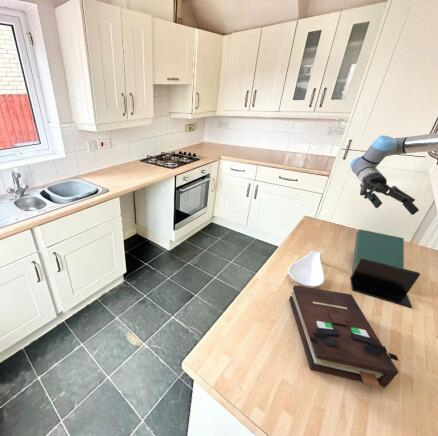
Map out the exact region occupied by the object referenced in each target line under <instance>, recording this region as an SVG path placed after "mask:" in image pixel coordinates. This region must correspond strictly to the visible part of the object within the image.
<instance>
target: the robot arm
mask: <svg viewBox="0 0 438 436" xmlns="http://www.w3.org/2000/svg"><path fill="white" fill-rule="evenodd" d="M437 151H438V132H433V133H426V134H419V135H412V136H411V135H410V136H403V137H395V138H394V137H391V136H389V135H379V136H378V137H377V138H376V139H375V140H374V141H373V142H372V143H371V145H370V146H369V147H368V149H366V151H365V152H364V153H363V155H362V156H357V157H356V158H354V159H352V160H351V161H350V163H349V164H350V165H349V167H350V169H351V171H352V173H353V174H355V176H356V177H357V178H358V180H359V181H360V182H361V183H360V184H359V187H360V190H359V195H360V196H363V198H364V199H365V200H366V199H367V200H368V201H370V203H371V204H372V205H373V207H374V208H375V209H378V208H379V207H380V206H381V205H383V202H382V201H381V199H380V198H379V196H378V195H377V194H376V193H378V194H382V195H385V197H390V198H392V199H394V200H395V201H397V202H400V203H402V206H403V207H404V208H405V209H406V211H408V213H409V214H410V215H412V216H414V215H415V214H416V213H417V212H419V211H420V209H419V208H418V207H417V206H416V204H414V202H415V201H416V199H415V198H413V197H412V196H411V195H409V194H407V193H406V192H404V191H402V190H401V189H400V188H399V187H397V186H396V185H392V186H390V185H389V184H388V183H387V181H388V180H387V178H386V177H385V176H384V175H383V174H382V173H381V171H380V170H379V169H378V168H377V167H378V165H380V163H382V161H383V160H384V159H385V158H386V157H391V156H396V155H406V154H414V153H415V154H417V153H425V152H427V153H428V152H437Z"/></svg>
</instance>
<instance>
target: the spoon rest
mask: <svg viewBox="0 0 438 436" xmlns="http://www.w3.org/2000/svg"><path fill="white" fill-rule="evenodd" d="M287 273H288V276H289V277H290V279H291V280H292V281H293V282H294V283H295V284H297V285H298V286H302V287H308V288H314V289H316V288H317V287H318V288H319V287H320V286H322V285H323V284H324V282H325V272H324V268H323V265H322V252H319V251H316V250H314V249H312V250H311V251H310V252H309V253H308V254H306V255H305V256H303V257H302V258H299V259H298V260H296V261H294V262H293V263H292V264H291V265H289V266H288V268H287Z"/></svg>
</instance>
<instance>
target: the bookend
mask: <svg viewBox="0 0 438 436" xmlns="http://www.w3.org/2000/svg"><path fill="white" fill-rule="evenodd" d="M352 271H353V270H352ZM351 273H352V272H351ZM420 276H421V273H420V272H418V271H415V270H410V269H406V268H404V267H403V268H399V267H394V266H390V265H386V264H382V263H378V262H374V261H370V260H366V259H362V258H360V260H359V261H358V263H357V265H356V267H355V269H354V271H353V273H352V274H351V275H350V277H349V280H350V286H351V291H353V292H356V293H359V294H361V295H366V296H369V297H372V298H375V299H379V300H381V301H384V302H389V303H391V304H395V305H398V306H402V307H405V308H409V309H412V308H413V306H412V305H413V304H412V303H411V300H410V299H409V296H408V293H409V292H410V290H411V289H412V288H413V286H414V285H415V283H416V281H417V280H418V278H419V277H420Z"/></svg>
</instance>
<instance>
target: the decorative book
mask: <svg viewBox="0 0 438 436" xmlns="http://www.w3.org/2000/svg"><path fill="white" fill-rule="evenodd" d="M292 290H293V291H290V294H291V295H290V296H289V298H288V300H289V304H290V308H291V311H292V314H293V317H294V320H295V323H296V327H297V330H298V331H297V332H298V335H299V336H300V340H301V344H302V347H303V350H304V353H305V357H306V360H307V363H308V366H309V370H311V371H314V372H317V373H318V372H319V373H322V374H327V375H331V376H336V377H339V378H345V379H347V380H352V381H356V382H361V383H365V384H367V385H371V386H375V387H377V388H387V387H388V386H389V385H390V384H391V382H392V381H393V380H394V379H395V377H396V376H397V375H398V374H399V370H398V368H397V367H396V365H395V363H394V362H393V361H397V362H400V360H399V357H398V356H397V354H394V353H391V352H388V350H387V348H386V346H384V345H383V343H382V342H381V340H380V339H379V337H378V336H377V334H376V332H375V331H374V329H373V327H372V326H371V324H370V322H369V321H368V319H367V317H366V316H365V314H364V312H363V311H362V309H361V307H360V306H359V305H358V302H357V301H356V299H355V298H354V295H352V294H351V293H345V292H338V291H333V290H326V289H320V288H308V287H304V286H301V285H295V284H294V285H293V287H292Z"/></svg>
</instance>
